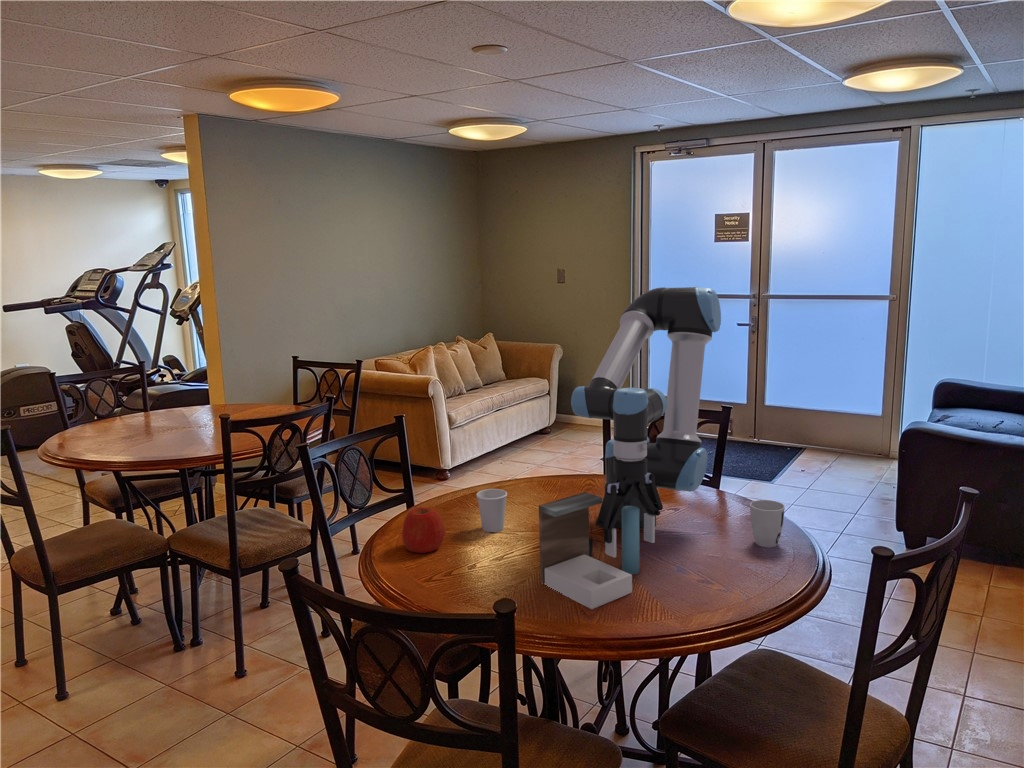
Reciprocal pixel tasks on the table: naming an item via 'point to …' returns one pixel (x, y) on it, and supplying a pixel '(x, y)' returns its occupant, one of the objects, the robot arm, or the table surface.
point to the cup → (767, 522)
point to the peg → (630, 539)
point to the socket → (588, 581)
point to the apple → (423, 530)
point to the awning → (564, 529)
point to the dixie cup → (492, 509)
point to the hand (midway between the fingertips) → (630, 548)
